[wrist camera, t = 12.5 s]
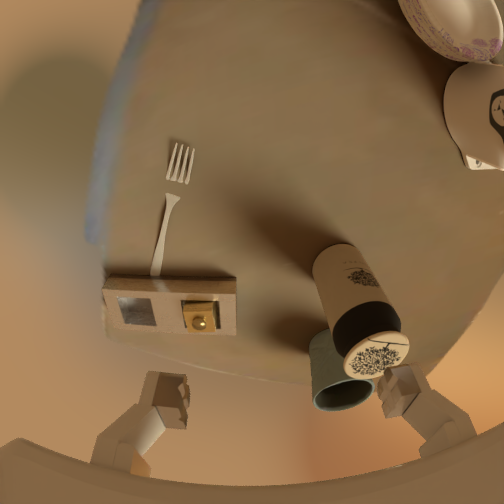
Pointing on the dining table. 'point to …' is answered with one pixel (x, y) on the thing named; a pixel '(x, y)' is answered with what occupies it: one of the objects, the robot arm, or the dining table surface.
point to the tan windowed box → (168, 302)
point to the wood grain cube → (200, 315)
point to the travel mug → (358, 313)
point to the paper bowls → (457, 27)
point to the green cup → (334, 377)
